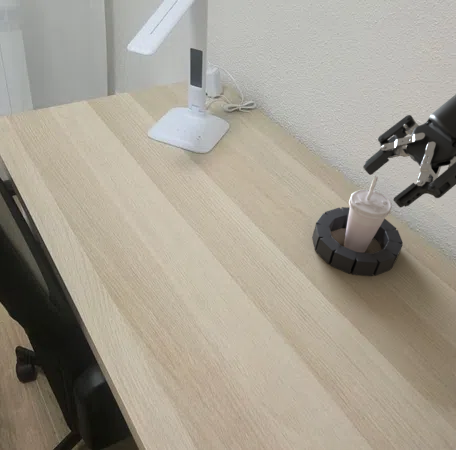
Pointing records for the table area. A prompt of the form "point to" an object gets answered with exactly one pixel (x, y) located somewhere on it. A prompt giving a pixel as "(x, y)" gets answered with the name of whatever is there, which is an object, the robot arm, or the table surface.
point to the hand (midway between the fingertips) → (380, 187)
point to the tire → (349, 258)
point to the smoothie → (365, 217)
